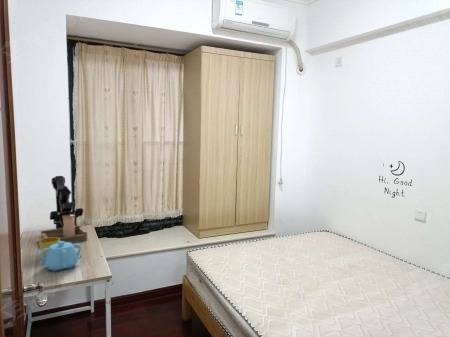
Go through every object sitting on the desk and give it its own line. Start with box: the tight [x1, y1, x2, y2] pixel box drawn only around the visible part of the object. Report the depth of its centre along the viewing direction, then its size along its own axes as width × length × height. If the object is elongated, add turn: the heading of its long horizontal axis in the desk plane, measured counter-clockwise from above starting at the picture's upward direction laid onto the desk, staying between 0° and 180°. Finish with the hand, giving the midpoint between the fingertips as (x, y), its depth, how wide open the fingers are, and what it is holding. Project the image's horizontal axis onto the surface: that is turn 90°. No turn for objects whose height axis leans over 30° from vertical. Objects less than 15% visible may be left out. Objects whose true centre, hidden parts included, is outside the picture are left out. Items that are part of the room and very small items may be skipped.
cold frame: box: [40, 225, 88, 243], centre depth 205 cm, size 16×24×6 cm
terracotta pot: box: [62, 214, 76, 237], centre depth 194 cm, size 7×7×13 cm
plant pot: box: [38, 237, 61, 258], centre depth 177 cm, size 10×10×10 cm
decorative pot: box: [39, 241, 83, 272], centre depth 163 cm, size 16×16×14 cm
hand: (69, 225), depth 193 cm, fingers closed on terracotta pot, 7 cm apart
